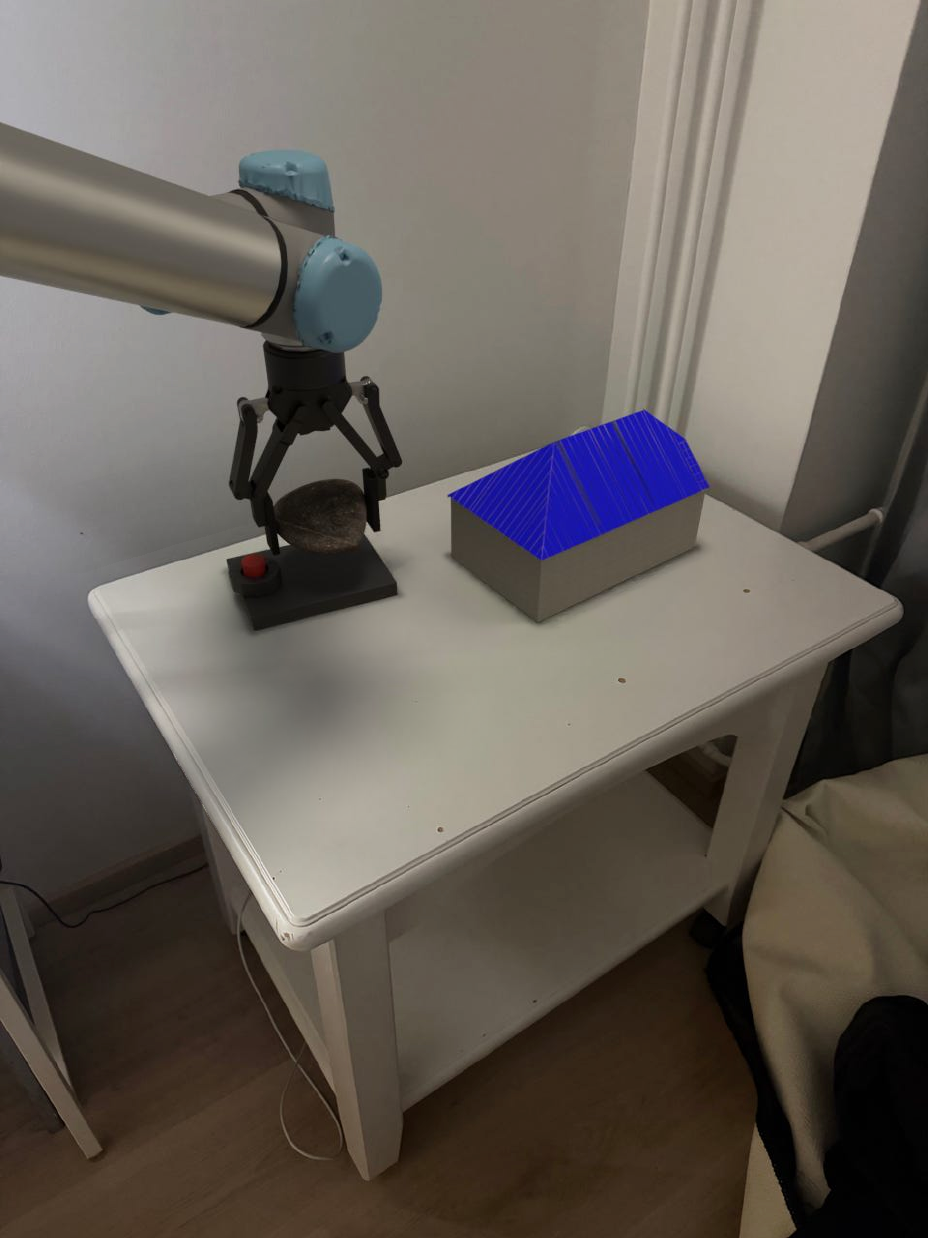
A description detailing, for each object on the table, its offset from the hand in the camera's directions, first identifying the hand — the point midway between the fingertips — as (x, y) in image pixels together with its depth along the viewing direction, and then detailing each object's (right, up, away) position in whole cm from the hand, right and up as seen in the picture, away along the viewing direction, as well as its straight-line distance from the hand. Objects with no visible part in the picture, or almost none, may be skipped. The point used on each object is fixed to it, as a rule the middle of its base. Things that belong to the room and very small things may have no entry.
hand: (324, 537), depth 97 cm
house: (+28, -1, +8) cm, 29 cm away
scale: (-2, -5, +3) cm, 6 cm away
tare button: (-7, -4, -1) cm, 8 cm away
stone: (0, 0, 0) cm, 1 cm away
